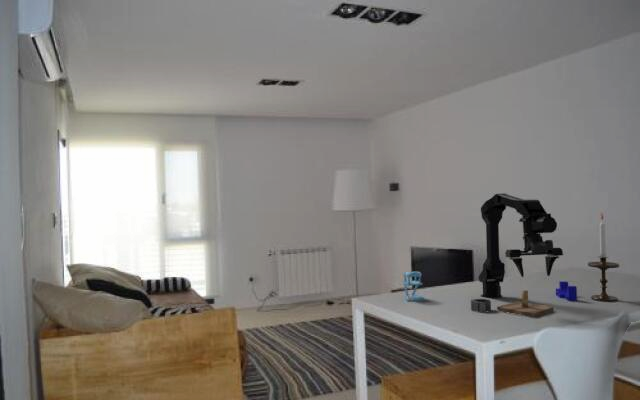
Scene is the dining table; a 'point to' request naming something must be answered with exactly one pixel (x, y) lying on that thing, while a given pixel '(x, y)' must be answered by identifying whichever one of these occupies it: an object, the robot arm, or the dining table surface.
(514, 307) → the post block
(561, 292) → the cable clip
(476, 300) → the ring
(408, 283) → the chair
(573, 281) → the dining table surface
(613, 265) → the candlestick
